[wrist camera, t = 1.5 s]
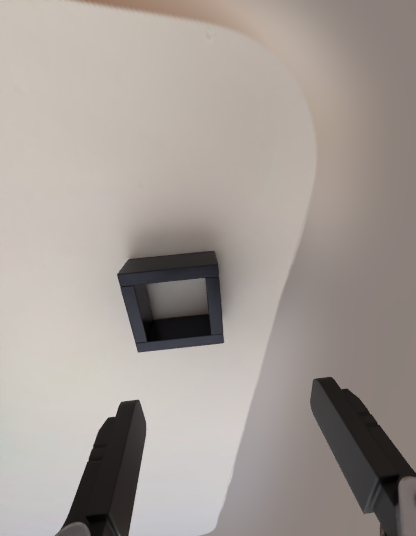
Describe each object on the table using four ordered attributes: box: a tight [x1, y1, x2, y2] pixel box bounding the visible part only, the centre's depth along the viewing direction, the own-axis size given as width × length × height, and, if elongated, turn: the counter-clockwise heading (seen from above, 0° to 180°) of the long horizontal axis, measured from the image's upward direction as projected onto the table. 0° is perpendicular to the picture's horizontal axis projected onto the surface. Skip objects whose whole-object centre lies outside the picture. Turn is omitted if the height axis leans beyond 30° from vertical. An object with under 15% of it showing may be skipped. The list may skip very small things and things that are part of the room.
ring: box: [117, 251, 224, 352], centre depth 19 cm, size 7×7×3 cm
